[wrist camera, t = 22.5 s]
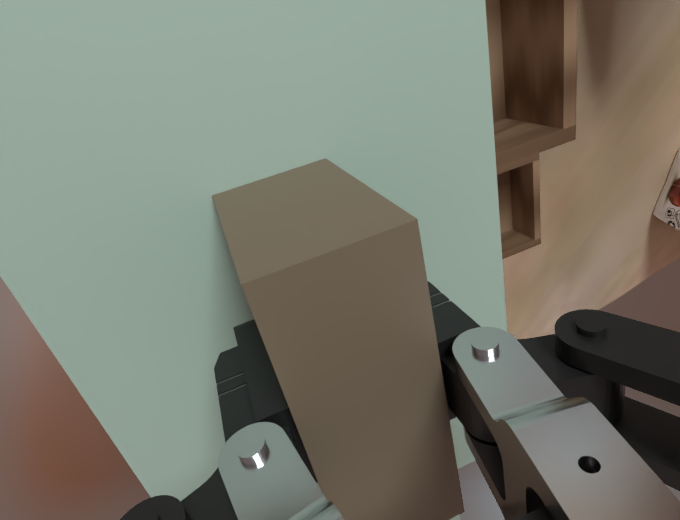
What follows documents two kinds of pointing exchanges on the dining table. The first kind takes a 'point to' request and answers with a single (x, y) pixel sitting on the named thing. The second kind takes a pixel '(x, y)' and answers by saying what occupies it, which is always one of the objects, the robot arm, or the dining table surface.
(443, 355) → the robot arm
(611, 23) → the dining table surface
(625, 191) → the dining table surface
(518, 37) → the wooden tray
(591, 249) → the dining table surface
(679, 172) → the juice carton
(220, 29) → the lid
